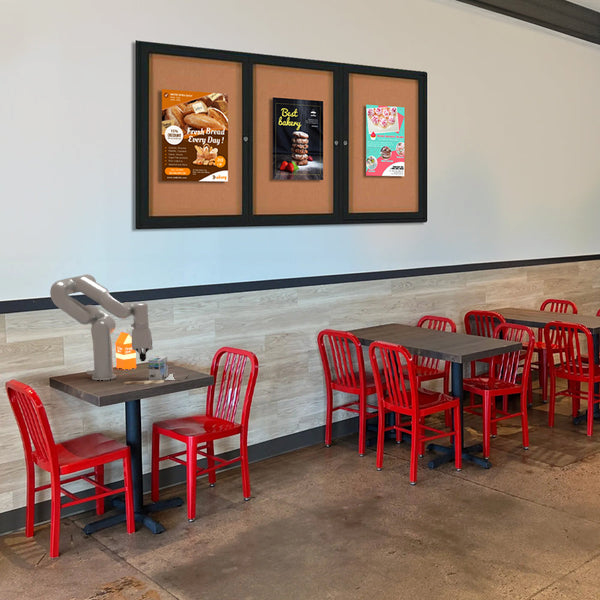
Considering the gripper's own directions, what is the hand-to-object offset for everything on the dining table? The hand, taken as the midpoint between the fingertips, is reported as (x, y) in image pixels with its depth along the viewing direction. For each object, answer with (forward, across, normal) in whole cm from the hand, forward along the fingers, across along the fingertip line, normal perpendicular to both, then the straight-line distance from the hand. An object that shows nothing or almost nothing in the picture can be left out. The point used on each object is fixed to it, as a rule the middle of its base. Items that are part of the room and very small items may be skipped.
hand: (143, 360), depth 396 cm
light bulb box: (+10, +8, 0) cm, 12 cm away
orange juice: (+9, -16, +25) cm, 31 cm away
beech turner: (+9, +4, -11) cm, 15 cm away
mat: (+10, +18, +1) cm, 20 cm away
